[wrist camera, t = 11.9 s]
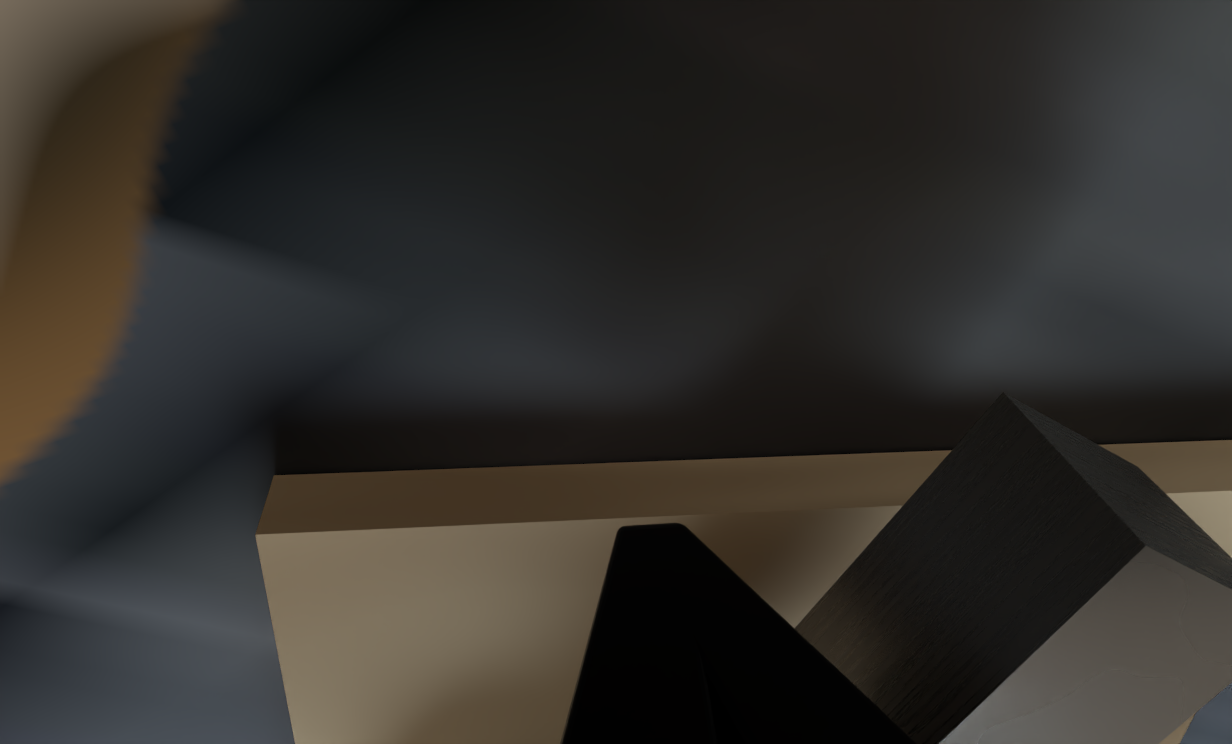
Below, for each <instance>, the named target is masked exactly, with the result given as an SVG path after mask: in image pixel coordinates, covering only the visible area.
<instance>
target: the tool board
mask: <svg viewBox="0 0 1232 744" xmlns="http://www.w3.org/2000/svg"><path fill="white" fill-rule="evenodd" d="M1100 446H1101V447H1103V448H1105V449H1107V450H1109V451H1110V452H1112V453H1114V454H1116V455H1118V456H1119V457H1121V458H1123V459H1125V460H1127V461H1128V462H1130V463H1132V464H1134V465H1136V466H1138V467H1139V468H1140V469H1141V470H1142V471H1143V472H1144V473H1145V474H1146V475H1147V476H1148V477H1149V478H1150V479H1151V480H1152V481H1153V482H1154V483H1155V484H1156V485H1157V486H1158V487H1159V488H1160V489H1161V490H1162V491H1163V492H1165V493H1166V494H1167V495H1168V496H1169V497H1170V498H1171V499H1172V500H1173V501H1174V502H1175V503H1176V504H1177V505H1178V506H1179V507H1180V508H1181V509H1182V510H1183V511H1184V512H1185V513H1186V514H1187V515H1188V516H1189V517H1190V518H1191V519H1192V520H1193V521H1194V522H1195V523H1196V524H1197V525H1199V526H1200V527H1201V528H1202V529H1203V530H1204V531H1205V532H1206V533H1207V534H1208V535H1209V536H1210V537H1211V538H1212V539H1213V540H1214V541H1215V542H1216V543H1217V544H1218V545H1219V546H1220V547H1221V548H1222V549H1223V550H1224V551H1225V552H1226V553H1227V554H1228V555H1229V556H1230V557H1231V558H1232V440H1214V441H1187V442H1160V443H1133V444H1106V445H1100ZM951 451H952V450H945V451H918V452H891V453H864V454H837V455H810V456H783V457H756V458H729V459H702V460H675V461H648V462H621V463H594V464H567V465H541V466H514V467H487V468H460V469H433V470H406V471H379V472H352V473H325V474H298V475H274V477H273V480H272V483H271V486H270V489H269V493H268V496H267V499H266V502H265V505H264V509H263V512H262V515H261V518H260V521H259V524H258V528H257V531H256V534H255V536H256V541H257V546H258V552H259V557H260V562H261V567H262V573H263V578H264V583H265V588H266V594H267V599H268V604H269V609H270V615H271V620H272V625H273V630H274V636H275V641H276V646H277V651H278V657H279V662H280V667H281V672H282V678H283V683H284V688H285V693H286V698H287V704H288V709H289V714H290V719H291V725H292V730H293V735H294V740H295V744H560V742H561V738H562V734H563V731H564V727H565V723H566V719H567V716H568V712H569V708H570V705H571V701H572V697H573V693H574V690H575V686H576V682H577V678H578V675H579V671H580V667H581V664H582V660H583V656H584V652H585V649H586V645H587V641H588V637H589V634H590V630H591V626H592V622H593V619H594V615H595V611H596V608H597V604H598V600H599V596H600V593H601V589H602V585H603V581H604V578H605V574H606V570H607V567H608V563H609V559H610V555H611V552H612V548H613V544H614V540H615V537H616V533H617V531H618V529H619V528H621V527H622V526H631V525H646V524H662V523H681V524H683V525H685V526H686V527H687V528H688V529H689V530H690V531H691V532H693V533H694V534H695V535H696V536H697V537H698V538H699V539H700V540H701V541H702V542H703V543H704V544H705V545H706V546H707V547H709V548H710V549H711V550H712V551H713V552H714V553H715V554H716V555H717V556H718V557H719V558H720V559H721V560H722V561H723V562H724V563H726V564H727V565H728V566H729V567H730V568H731V569H732V570H733V571H734V572H735V573H736V574H737V575H738V576H739V577H740V578H741V579H743V580H744V581H745V582H746V583H747V584H748V585H749V586H750V587H751V588H752V589H753V590H754V591H755V592H756V593H757V594H758V595H760V596H761V597H762V598H763V599H764V600H765V601H766V602H767V603H768V604H769V605H770V606H771V607H772V608H773V609H774V610H775V611H777V612H778V613H779V614H780V615H781V616H782V617H783V618H784V619H785V620H786V621H787V622H788V623H789V624H790V625H791V626H793V627H794V628H795V627H796V626H797V625H798V624H799V623H800V622H801V620H802V619H803V618H804V617H805V616H806V615H807V614H808V613H809V611H810V610H811V609H812V608H813V607H814V606H815V605H816V603H817V602H818V601H819V600H820V599H821V598H822V597H823V596H824V594H825V593H826V592H827V591H828V590H829V589H830V588H831V587H832V585H833V584H834V583H835V582H836V581H837V580H838V579H839V577H840V576H841V575H842V574H843V573H844V572H845V571H846V570H847V568H848V567H849V566H850V565H851V564H852V563H853V562H854V561H855V559H856V558H857V557H858V556H859V555H860V554H861V553H862V551H863V550H864V549H865V548H866V547H867V546H868V545H869V544H870V542H871V541H872V540H873V539H874V538H875V537H876V536H877V535H878V533H879V532H880V531H881V530H882V529H883V528H884V527H885V525H886V524H887V523H888V522H889V521H890V520H891V519H892V518H893V516H894V515H895V514H896V513H897V512H898V511H899V510H900V509H901V507H902V506H903V505H904V504H905V503H906V502H907V501H908V499H909V498H910V497H911V496H912V495H913V494H914V493H915V492H916V490H917V489H918V488H919V487H920V486H921V485H922V484H923V483H924V481H925V480H926V479H927V478H928V477H929V476H930V475H931V473H932V472H933V471H934V470H935V469H936V468H937V467H938V466H939V464H940V463H941V462H942V461H943V460H944V459H945V458H946V456H947V455H948V454H949V453H950V452H951ZM1194 715H1195V714H1193V715H1192V716H1191V717H1190V718H1189V719H1188V720H1186V721H1185V722H1184V723H1183V724H1182V725H1180V726H1179V727H1178V728H1177V729H1176V730H1174V731H1173V732H1172V733H1171V734H1170V735H1169V736H1167V737H1166V738H1165V739H1164V740H1163V741H1161V742H1160V743H1159V744H1180V742H1181V740H1182V738H1183V736H1184V734H1185V732H1186V730H1187V728H1188V727H1189V725H1190V723H1191V721H1192V719H1193V717H1194Z"/></svg>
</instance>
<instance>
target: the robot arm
mask: <svg viewBox="0 0 1232 744" xmlns="http://www.w3.org/2000/svg"><path fill="white" fill-rule="evenodd" d="M560 744H917V743H916V742H915V741H914V740H913V739H912V738H911V737H909V736H908V735H907V734H906V733H905V732H904V731H903V730H902V729H901V728H900V727H899V726H898V725H897V724H896V723H895V722H894V721H892V720H891V719H890V718H889V717H888V716H887V715H886V714H885V713H884V712H883V711H882V710H881V709H880V708H879V707H878V706H877V705H875V704H874V703H873V702H872V701H871V700H870V699H869V698H868V697H867V696H866V695H865V694H864V693H863V692H862V691H861V690H859V689H858V688H857V687H856V686H855V685H854V684H853V683H852V682H851V681H850V680H849V679H848V678H847V677H846V676H845V675H844V674H842V673H841V672H840V671H839V670H838V669H837V668H836V667H835V666H834V665H833V664H832V663H831V662H830V661H829V660H828V659H827V658H825V657H824V656H823V655H822V654H821V653H820V652H819V651H818V650H817V649H816V648H815V647H814V646H813V645H812V644H811V643H810V642H808V641H807V640H806V639H805V638H804V637H803V636H802V635H801V634H800V633H799V632H798V631H797V630H796V629H795V628H794V627H793V626H791V625H790V624H789V623H788V622H787V621H786V620H785V619H784V618H783V617H782V616H781V615H780V614H779V613H778V612H777V611H775V610H774V609H773V608H772V607H771V606H770V605H769V604H768V603H767V602H766V601H765V600H764V599H763V598H762V597H761V596H760V595H758V594H757V593H756V592H755V591H754V590H753V589H752V588H751V587H750V586H749V585H748V584H747V583H746V582H745V581H744V580H743V579H741V578H740V577H739V576H738V575H737V574H736V573H735V572H734V571H733V570H732V569H731V568H730V567H729V566H728V565H727V564H726V563H724V562H723V561H722V560H721V559H720V558H719V557H718V556H717V555H716V554H715V553H714V552H713V551H712V550H711V549H710V548H709V547H707V546H706V545H705V544H704V543H703V542H702V541H701V540H700V539H699V538H698V537H697V536H696V535H695V534H694V533H693V532H691V531H690V530H689V529H688V528H687V527H686V526H685V525H683V524H681V523H662V524H646V525H631V526H622V527H621V528H619V529H618V531H617V533H616V537H615V540H614V544H613V548H612V552H611V555H610V559H609V563H608V567H607V570H606V574H605V578H604V581H603V585H602V589H601V593H600V596H599V600H598V604H597V608H596V611H595V615H594V619H593V622H592V626H591V630H590V634H589V637H588V641H587V645H586V649H585V652H584V656H583V660H582V664H581V667H580V671H579V675H578V678H577V682H576V686H575V690H574V693H573V697H572V701H571V705H570V708H569V712H568V716H567V719H566V723H565V727H564V731H563V734H562V738H561V742H560Z"/></svg>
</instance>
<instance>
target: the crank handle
mask: <svg viewBox="0 0 1232 744" xmlns="http://www.w3.org/2000/svg"><path fill="white" fill-rule="evenodd" d="M795 629H796V630H797V631H798V632H799V633H800V634H801V635H802V636H803V637H804V638H805V639H806V640H807V641H808V642H810V643H811V644H812V645H813V646H814V647H815V648H816V649H817V650H818V651H819V652H820V653H821V654H822V655H823V656H824V657H825V658H827V659H828V660H829V661H830V662H831V663H832V664H833V665H834V666H835V667H836V668H837V669H838V670H839V671H840V672H841V673H842V674H844V675H845V676H846V677H847V678H848V679H849V680H850V681H851V682H852V683H853V684H854V685H855V686H856V687H857V688H858V689H859V690H861V691H862V692H863V693H864V694H865V695H866V696H867V697H868V698H869V699H870V700H871V701H872V702H873V703H874V704H875V705H877V706H878V707H879V708H880V709H881V710H882V711H883V712H884V713H885V714H886V715H887V716H888V717H889V718H890V719H891V720H892V721H894V722H895V723H896V724H897V725H898V726H899V727H900V728H901V729H902V730H903V731H904V732H905V733H906V734H907V735H908V736H909V737H911V738H912V739H913V740H914V741H915V742H916V743H917V744H1159V743H1160V742H1161V741H1163V740H1164V739H1165V738H1166V737H1167V736H1169V735H1170V734H1171V733H1172V732H1173V731H1174V730H1176V729H1177V728H1178V727H1179V726H1180V725H1182V724H1183V723H1184V722H1185V721H1186V720H1188V719H1189V718H1190V717H1191V716H1192V715H1193V714H1195V713H1196V712H1197V711H1198V710H1199V709H1201V708H1202V707H1203V706H1204V705H1205V704H1207V703H1208V702H1209V701H1210V700H1211V699H1213V698H1214V697H1215V696H1216V695H1217V694H1218V693H1220V692H1221V691H1222V690H1223V689H1224V688H1226V687H1227V686H1228V685H1229V684H1230V683H1232V558H1231V557H1230V556H1229V555H1228V554H1227V553H1226V552H1225V551H1224V550H1223V549H1222V548H1221V547H1220V546H1219V545H1218V544H1217V543H1216V542H1215V541H1214V540H1213V539H1212V538H1211V537H1210V536H1209V535H1208V534H1207V533H1206V532H1205V531H1204V530H1203V529H1202V528H1201V527H1200V526H1199V525H1197V524H1196V523H1195V522H1194V521H1193V520H1192V519H1191V518H1190V517H1189V516H1188V515H1187V514H1186V513H1185V512H1184V511H1183V510H1182V509H1181V508H1180V507H1179V506H1178V505H1177V504H1176V503H1175V502H1174V501H1173V500H1172V499H1171V498H1170V497H1169V496H1168V495H1167V494H1166V493H1165V492H1163V491H1162V490H1161V489H1160V488H1159V487H1158V486H1157V485H1156V484H1155V483H1154V482H1153V481H1152V480H1151V479H1150V478H1149V477H1148V476H1147V475H1146V474H1145V473H1144V472H1143V471H1142V470H1141V469H1140V468H1139V467H1138V466H1136V465H1134V464H1132V463H1130V462H1128V461H1127V460H1125V459H1123V458H1121V457H1119V456H1118V455H1116V454H1114V453H1112V452H1110V451H1109V450H1107V449H1105V448H1103V447H1101V446H1100V445H1098V444H1096V443H1094V442H1092V441H1091V440H1089V439H1087V438H1085V437H1083V436H1081V435H1080V434H1078V433H1076V432H1074V431H1072V430H1071V429H1069V428H1067V427H1065V426H1063V425H1062V424H1060V423H1058V422H1056V421H1054V420H1053V419H1051V418H1049V417H1047V416H1045V415H1044V414H1042V413H1040V412H1038V411H1036V410H1035V409H1033V408H1031V407H1029V406H1027V405H1025V404H1024V403H1022V402H1020V401H1018V400H1016V399H1015V398H1013V397H1011V396H1009V395H1007V394H1006V393H1004V392H1003V393H1002V394H1001V395H1000V397H999V398H998V399H997V400H996V401H995V402H994V403H993V404H992V406H991V407H990V408H989V409H988V410H987V411H986V412H985V414H984V415H983V416H982V417H981V418H980V419H979V420H978V421H977V423H976V424H975V425H974V426H973V427H972V428H971V429H970V430H969V432H968V433H967V434H966V435H965V436H964V437H963V438H962V440H961V441H960V442H959V443H958V444H957V445H956V446H955V447H954V449H953V450H952V451H951V452H950V453H949V454H948V455H947V456H946V458H945V459H944V460H943V461H942V462H941V463H940V464H939V466H938V467H937V468H936V469H935V470H934V471H933V472H932V473H931V475H930V476H929V477H928V478H927V479H926V480H925V481H924V483H923V484H922V485H921V486H920V487H919V488H918V489H917V490H916V492H915V493H914V494H913V495H912V496H911V497H910V498H909V499H908V501H907V502H906V503H905V504H904V505H903V506H902V507H901V509H900V510H899V511H898V512H897V513H896V514H895V515H894V516H893V518H892V519H891V520H890V521H889V522H888V523H887V524H886V525H885V527H884V528H883V529H882V530H881V531H880V532H879V533H878V535H877V536H876V537H875V538H874V539H873V540H872V541H871V542H870V544H869V545H868V546H867V547H866V548H865V549H864V550H863V551H862V553H861V554H860V555H859V556H858V557H857V558H856V559H855V561H854V562H853V563H852V564H851V565H850V566H849V567H848V568H847V570H846V571H845V572H844V573H843V574H842V575H841V576H840V577H839V579H838V580H837V581H836V582H835V583H834V584H833V585H832V587H831V588H830V589H829V590H828V591H827V592H826V593H825V594H824V596H823V597H822V598H821V599H820V600H819V601H818V602H817V603H816V605H815V606H814V607H813V608H812V609H811V610H810V611H809V613H808V614H807V615H806V616H805V617H804V618H803V619H802V620H801V622H800V623H799V624H798V625H797V626H796V627H795Z"/></svg>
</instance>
